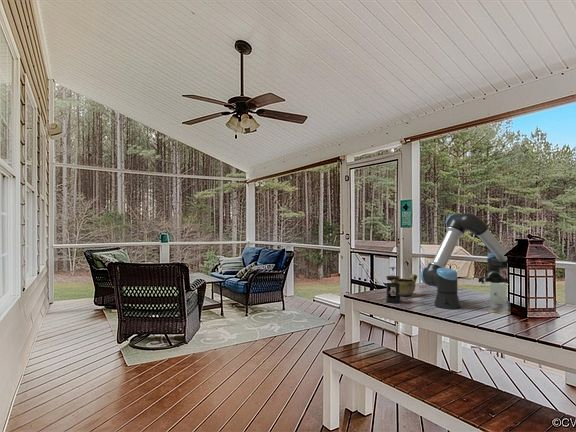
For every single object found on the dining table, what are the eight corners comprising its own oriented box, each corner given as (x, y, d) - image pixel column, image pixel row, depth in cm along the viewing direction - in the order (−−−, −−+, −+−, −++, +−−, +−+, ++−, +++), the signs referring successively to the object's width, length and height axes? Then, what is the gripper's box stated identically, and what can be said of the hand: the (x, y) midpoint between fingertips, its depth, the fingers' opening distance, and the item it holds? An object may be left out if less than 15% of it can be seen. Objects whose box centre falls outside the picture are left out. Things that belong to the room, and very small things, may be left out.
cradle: (488, 312, 208) (488, 301, 208) (487, 310, 214) (487, 299, 214) (510, 314, 203) (510, 303, 203) (509, 312, 209) (509, 301, 209)
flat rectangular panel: (490, 310, 213) (490, 283, 214) (490, 309, 216) (489, 282, 216) (506, 311, 210) (505, 284, 210) (505, 310, 212) (505, 283, 213)
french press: (404, 303, 234) (403, 268, 235) (391, 304, 231) (391, 268, 232) (394, 299, 245) (393, 266, 246) (381, 300, 243) (381, 266, 243)
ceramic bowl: (398, 298, 249) (398, 276, 249) (383, 294, 265) (383, 273, 265) (423, 295, 257) (423, 275, 257) (408, 291, 273) (407, 272, 273)
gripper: (516, 284, 236) (521, 290, 217) (474, 282, 247) (474, 287, 228) (516, 272, 236) (520, 277, 217) (473, 271, 247) (474, 275, 228)
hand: (497, 282), depth 222 cm, fingers open, 13 cm apart
